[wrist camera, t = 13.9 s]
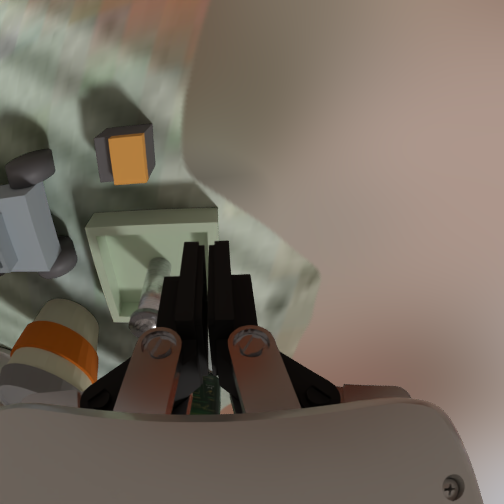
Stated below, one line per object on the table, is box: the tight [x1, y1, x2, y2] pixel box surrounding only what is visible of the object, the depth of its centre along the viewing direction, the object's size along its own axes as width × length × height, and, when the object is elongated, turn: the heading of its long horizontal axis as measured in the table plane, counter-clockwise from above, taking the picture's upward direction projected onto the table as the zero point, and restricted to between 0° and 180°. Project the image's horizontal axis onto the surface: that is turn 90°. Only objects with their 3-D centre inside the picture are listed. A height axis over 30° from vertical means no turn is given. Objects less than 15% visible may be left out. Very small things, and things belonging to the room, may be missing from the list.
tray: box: [85, 207, 218, 322], centre depth 33 cm, size 13×13×3 cm
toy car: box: [0, 149, 77, 279], centre depth 25 cm, size 14×12×8 cm
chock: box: [94, 124, 155, 185], centre depth 25 cm, size 4×4×4 cm
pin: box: [129, 257, 172, 338], centre depth 31 cm, size 4×4×9 cm
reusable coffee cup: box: [0, 299, 99, 406], centre depth 33 cm, size 13×13×15 cm
